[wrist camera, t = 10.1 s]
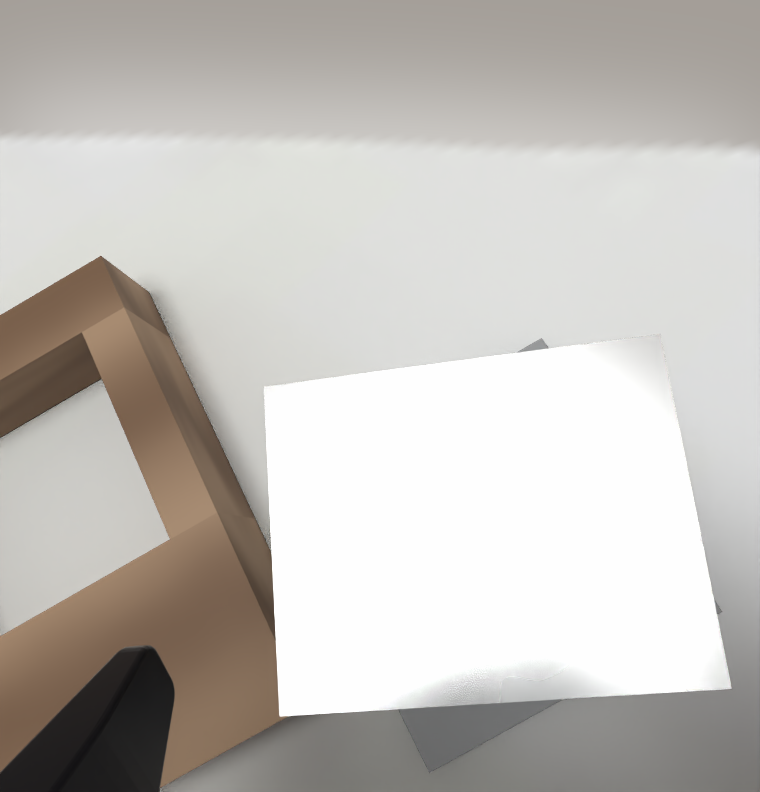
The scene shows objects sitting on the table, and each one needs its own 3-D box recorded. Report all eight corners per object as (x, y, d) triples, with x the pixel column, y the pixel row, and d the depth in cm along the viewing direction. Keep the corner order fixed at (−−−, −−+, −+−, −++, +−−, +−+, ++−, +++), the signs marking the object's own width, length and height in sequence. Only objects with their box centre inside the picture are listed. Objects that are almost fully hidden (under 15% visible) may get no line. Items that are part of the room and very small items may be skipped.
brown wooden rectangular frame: (333, 685, 20) (305, 706, 17) (14, 863, 20) (-66, 913, 17) (148, 292, 24) (101, 255, 21) (-115, 445, 24) (-196, 431, 21)
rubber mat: (716, 610, 19) (722, 611, 18) (431, 767, 19) (429, 772, 18) (540, 343, 21) (541, 337, 21) (291, 485, 21) (286, 483, 21)
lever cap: (588, 608, 19) (732, 688, 7) (409, 621, 19) (279, 716, 8) (565, 464, 20) (661, 333, 8) (396, 483, 20) (263, 386, 9)
